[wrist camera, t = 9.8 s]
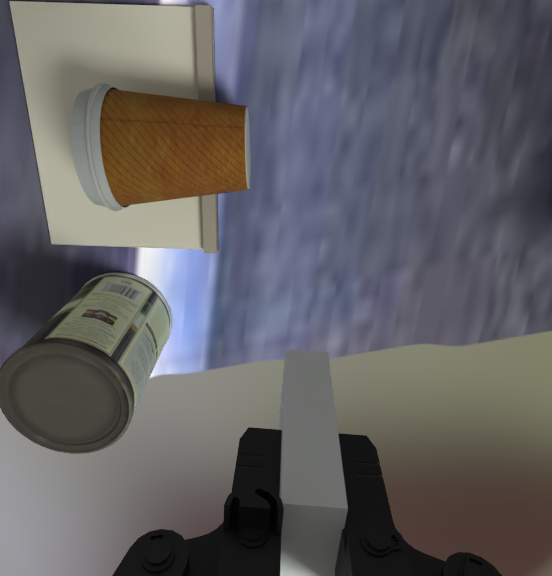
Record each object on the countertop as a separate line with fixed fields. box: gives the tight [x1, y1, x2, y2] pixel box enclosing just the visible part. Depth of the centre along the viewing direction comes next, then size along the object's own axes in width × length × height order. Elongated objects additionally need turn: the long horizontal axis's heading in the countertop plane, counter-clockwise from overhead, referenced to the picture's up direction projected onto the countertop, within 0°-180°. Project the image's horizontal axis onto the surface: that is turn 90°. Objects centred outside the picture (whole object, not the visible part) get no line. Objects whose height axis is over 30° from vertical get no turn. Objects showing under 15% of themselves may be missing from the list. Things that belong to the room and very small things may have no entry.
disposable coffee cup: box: [71, 83, 250, 211], centre depth 36 cm, size 10×10×12 cm
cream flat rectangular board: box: [9, 1, 219, 253], centre depth 40 cm, size 16×20×2 cm
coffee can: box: [0, 272, 172, 454], centre depth 41 cm, size 10×10×14 cm
